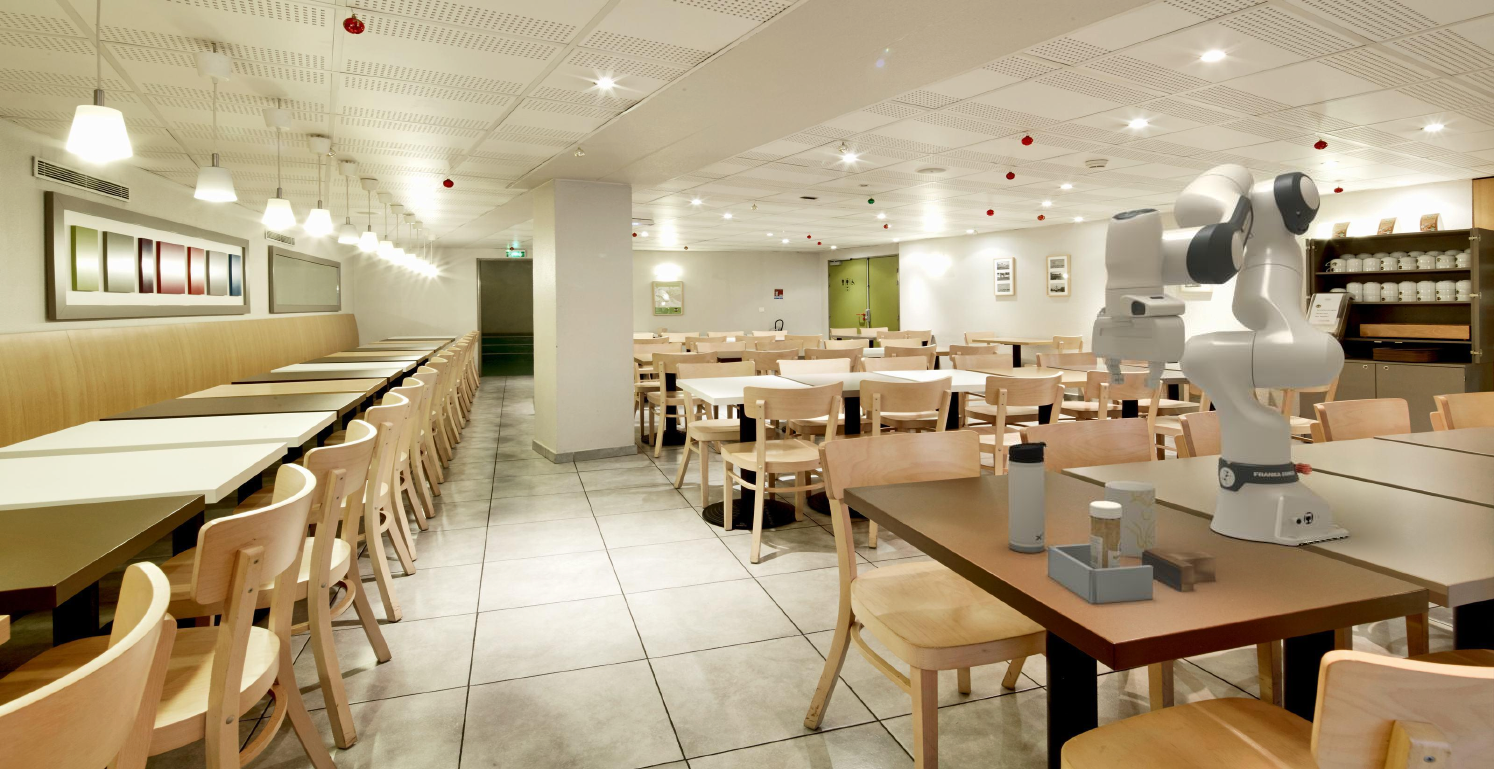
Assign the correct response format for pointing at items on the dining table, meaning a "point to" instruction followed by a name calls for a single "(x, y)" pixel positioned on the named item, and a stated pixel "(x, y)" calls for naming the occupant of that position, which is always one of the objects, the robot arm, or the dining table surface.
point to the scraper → (1180, 568)
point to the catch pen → (1098, 576)
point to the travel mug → (1026, 497)
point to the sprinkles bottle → (1105, 534)
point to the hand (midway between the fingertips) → (1133, 386)
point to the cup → (1134, 515)
